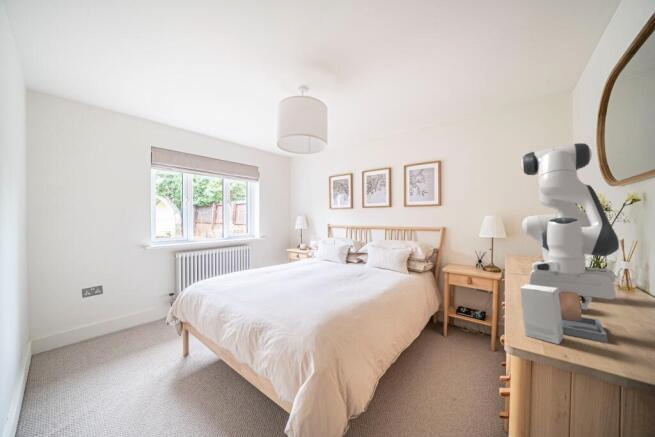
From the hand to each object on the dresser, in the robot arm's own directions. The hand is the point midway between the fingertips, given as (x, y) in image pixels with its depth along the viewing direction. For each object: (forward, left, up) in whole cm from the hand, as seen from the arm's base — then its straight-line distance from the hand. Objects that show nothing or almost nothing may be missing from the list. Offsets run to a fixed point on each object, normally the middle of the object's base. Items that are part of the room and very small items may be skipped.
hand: (569, 307), depth 79 cm
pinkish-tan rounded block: (0, 0, -4) cm, 4 cm away
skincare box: (+13, -7, -7) cm, 16 cm away
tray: (0, 0, -7) cm, 7 cm away
